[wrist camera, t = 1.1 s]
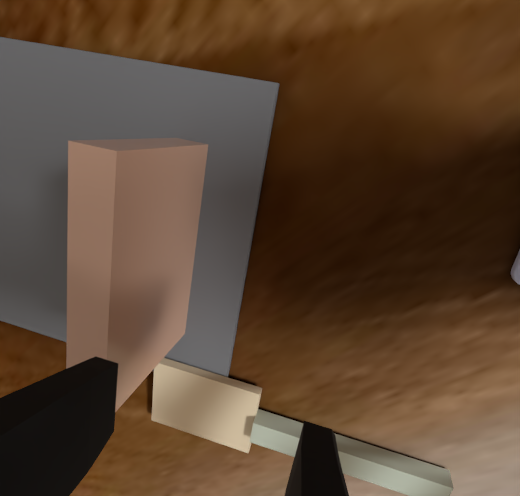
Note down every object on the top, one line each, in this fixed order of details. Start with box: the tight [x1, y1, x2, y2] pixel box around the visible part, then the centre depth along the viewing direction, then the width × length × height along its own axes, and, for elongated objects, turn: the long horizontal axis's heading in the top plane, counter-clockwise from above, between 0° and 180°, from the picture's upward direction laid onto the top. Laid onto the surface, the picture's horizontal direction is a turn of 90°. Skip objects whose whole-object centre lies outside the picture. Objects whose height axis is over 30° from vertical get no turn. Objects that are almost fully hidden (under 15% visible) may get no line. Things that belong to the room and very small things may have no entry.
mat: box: [0, 37, 279, 377], centre depth 20 cm, size 15×16×1 cm
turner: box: [152, 358, 453, 496], centre depth 20 cm, size 16×4×1 cm, turn 80°
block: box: [66, 138, 208, 412], centre depth 16 cm, size 2×10×7 cm, turn 170°
